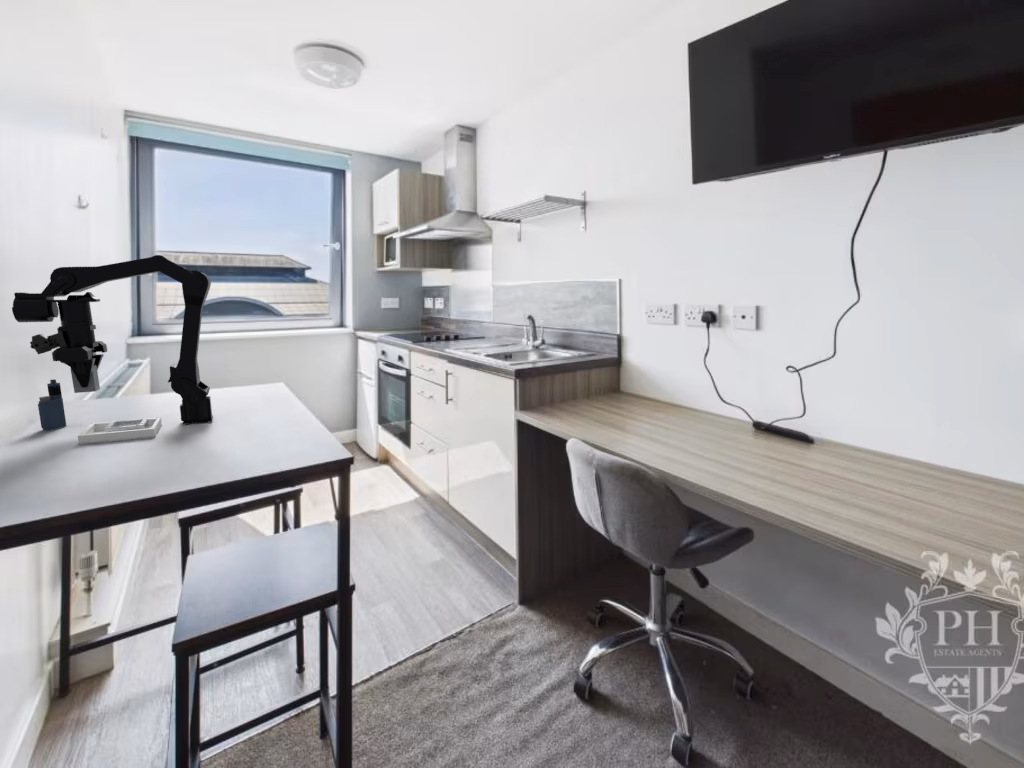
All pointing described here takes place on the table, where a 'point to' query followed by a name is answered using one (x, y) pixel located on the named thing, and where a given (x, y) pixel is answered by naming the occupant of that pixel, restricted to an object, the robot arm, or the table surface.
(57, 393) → the vaping device
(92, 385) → the block
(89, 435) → the walled tray
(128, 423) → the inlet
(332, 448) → the table surface
